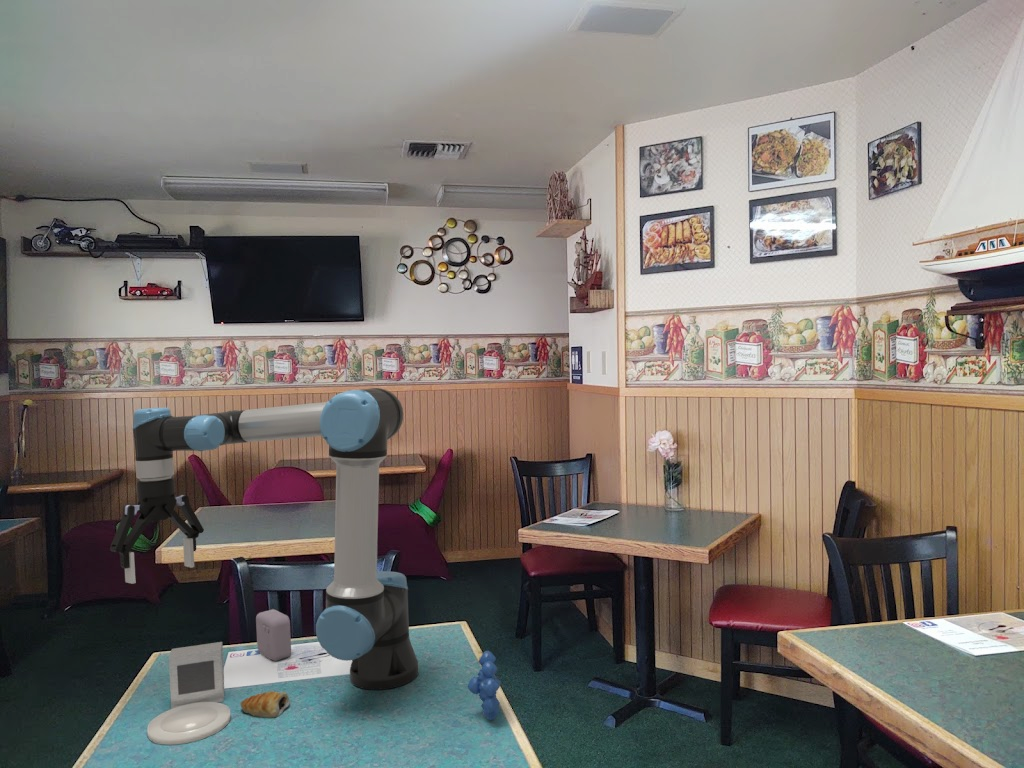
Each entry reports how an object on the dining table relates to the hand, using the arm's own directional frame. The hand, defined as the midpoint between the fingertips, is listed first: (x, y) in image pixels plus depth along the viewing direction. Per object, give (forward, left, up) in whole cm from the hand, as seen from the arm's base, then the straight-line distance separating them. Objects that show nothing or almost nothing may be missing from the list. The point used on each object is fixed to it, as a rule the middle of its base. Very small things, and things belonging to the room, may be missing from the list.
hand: (161, 574), depth 163 cm
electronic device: (-14, -20, -26) cm, 36 cm away
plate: (-16, +15, -25) cm, 34 cm away
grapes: (-73, +3, -26) cm, 78 cm away
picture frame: (-11, +5, -25) cm, 28 cm away
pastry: (-28, +7, -26) cm, 39 cm away
